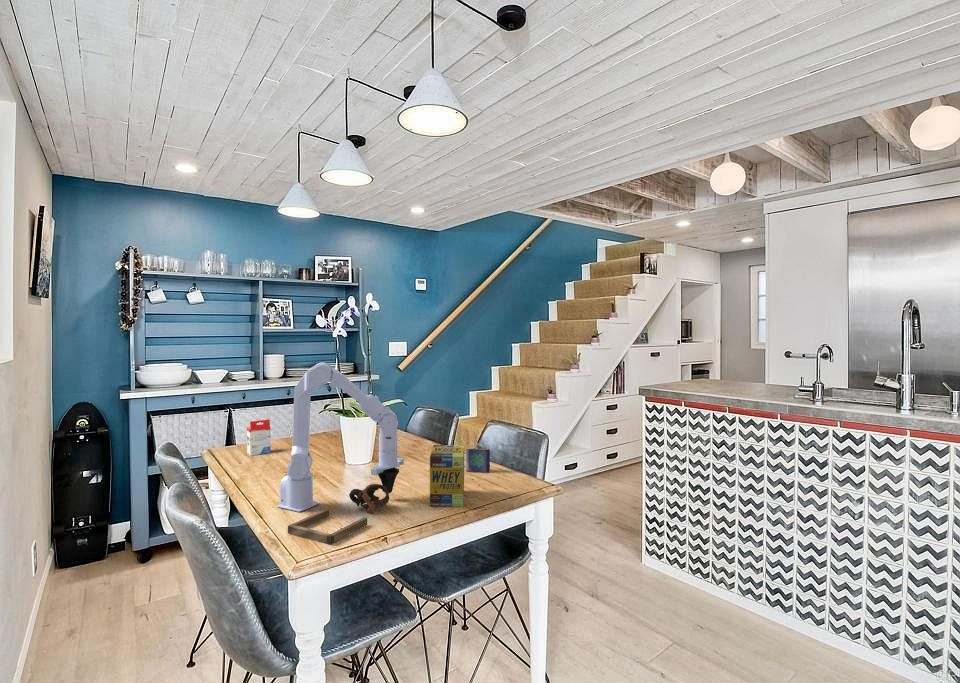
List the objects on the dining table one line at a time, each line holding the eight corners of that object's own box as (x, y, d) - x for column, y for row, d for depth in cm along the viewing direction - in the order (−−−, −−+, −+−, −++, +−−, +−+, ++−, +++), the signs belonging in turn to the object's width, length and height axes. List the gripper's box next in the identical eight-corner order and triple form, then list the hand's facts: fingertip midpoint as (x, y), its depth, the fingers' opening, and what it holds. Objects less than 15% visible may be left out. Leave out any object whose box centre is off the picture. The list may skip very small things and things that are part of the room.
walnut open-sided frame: (287, 533, 131) (287, 525, 130) (326, 515, 143) (326, 508, 143) (330, 544, 124) (330, 536, 124) (367, 525, 136) (367, 517, 136)
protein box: (429, 507, 150) (429, 456, 150) (433, 490, 166) (433, 444, 166) (463, 507, 151) (464, 456, 150) (464, 490, 166) (464, 444, 166)
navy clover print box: (465, 471, 188) (465, 443, 187) (466, 469, 191) (467, 442, 190) (489, 473, 186) (489, 445, 186) (490, 471, 189) (490, 443, 189)
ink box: (267, 450, 218) (267, 417, 218) (270, 453, 214) (270, 419, 214) (246, 453, 213) (246, 419, 212) (249, 456, 209) (249, 421, 209)
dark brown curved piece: (387, 502, 156) (393, 483, 152) (383, 526, 147) (389, 507, 144) (348, 494, 153) (354, 475, 150) (342, 518, 145) (348, 498, 142)
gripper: (384, 456, 148) (383, 501, 148) (411, 446, 161) (411, 487, 161) (365, 453, 151) (365, 497, 151) (394, 443, 164) (394, 484, 164)
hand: (388, 492), depth 157 cm, fingers closed
